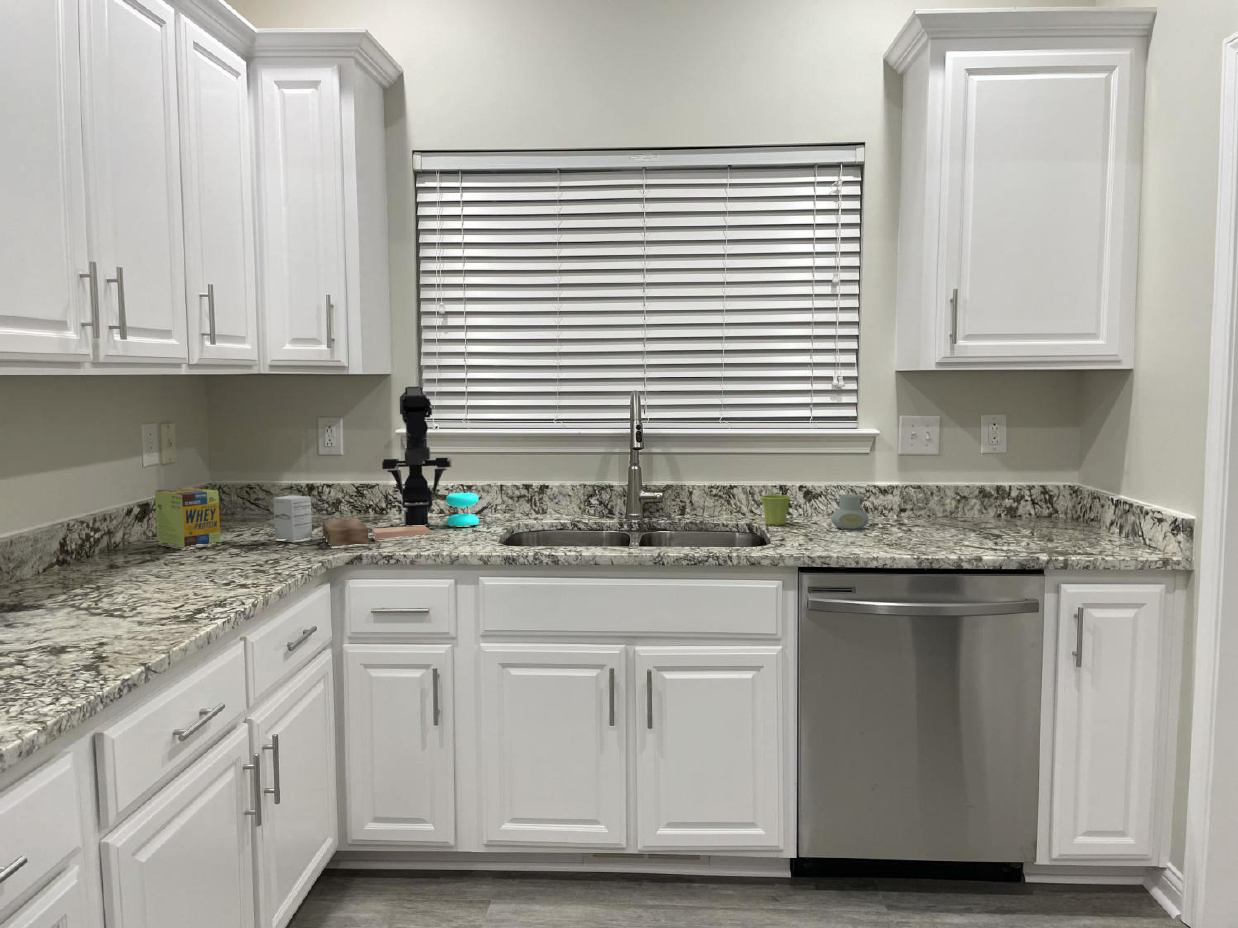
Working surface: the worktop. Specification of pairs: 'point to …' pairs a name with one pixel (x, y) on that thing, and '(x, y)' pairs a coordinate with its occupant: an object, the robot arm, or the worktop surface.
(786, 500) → the plant pot
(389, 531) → the tile
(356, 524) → the shelf
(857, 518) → the air freshener
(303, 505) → the supplement box
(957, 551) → the worktop surface
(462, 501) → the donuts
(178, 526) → the protein box
